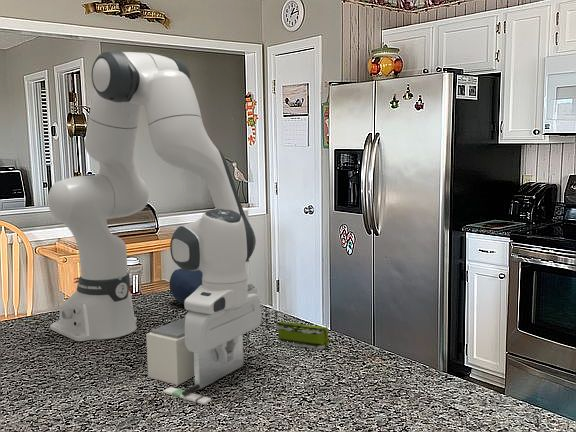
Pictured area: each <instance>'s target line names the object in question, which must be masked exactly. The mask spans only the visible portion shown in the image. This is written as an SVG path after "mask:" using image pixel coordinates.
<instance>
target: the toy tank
mask: <svg viewBox="0 0 576 432" xmlns="http://www.w3.org/2000/svg"><path fill="white" fill-rule="evenodd" d="M275 325H276V327H275V326H269V325H263V324H260V326H259V327H263V328H264V327H265V328H271V329H277V333H278V337H277V342H278V341H279V342H281V343H285V344H290V345H289V346H291V345H295V346H294V347H298V346H301V347H300V348H304V347H307V348H306V349H311V348H313V349H312V350H324V349H326V348H327V346H329V344H330V343H329V330H328V329H329V328H328V326H320V325H311V324H306V323H305V324H304V323H298V322H288V321H276V323H275ZM287 341H288V342H287ZM279 342H278V343H279ZM293 342H294V343H293ZM281 343H280V344H281ZM305 344H306V345H305Z"/></svg>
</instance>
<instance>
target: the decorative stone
mask: <svg viewBox="0 0 576 432" xmlns="http://www.w3.org/2000/svg"><path fill="white" fill-rule="evenodd" d="M202 276H203V273H202V271H201V270H196V271H189V270H183V269H182V268H178V269H175V270H173V272H172V273H171V275H170V279H169V289H170V293H171V294H172V296H173V298H174V299H175V300H176V301H177V302H179V303H181V304H183V305H184V302H185V299H186V298H187V297H189V296H190V295H191V294H192V293H193V292H194V291H195V290H196V289H197V288H198V287H199V286H200V285H202Z"/></svg>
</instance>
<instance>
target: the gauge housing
mask: <svg viewBox="0 0 576 432" xmlns="http://www.w3.org/2000/svg"><path fill="white" fill-rule="evenodd" d="M145 335H146V336H145V337H146V359H147V360H146V362H147V363H146V364H147V377H148V378H151V379H154V380H157V381H161V382H164V383H168V384H172V385H176V386H179V385H181V384H183V383H185V382H186V381H188V379H189V380H191V379H193V378H195V377H194V352H190V351H189V350H188V349H187V348H186V345H185V317H182V318H180V319H177V320H174V321H172V322H170V323H167V324H166V323H165V324H164V325H161V326H158V327H156V328H154V329H151V331H150V332H148V333H146V334H145ZM192 377H193V378H192ZM190 378H191V379H190ZM185 390H186V389H185ZM185 390H184V389H181V388H177V387H172V386H170V387H167V388H165V389H164V390H163V391H162V392H163V393H164V394H167V395H171V396H172V397H176V398H180V399H184V400H187V401H190V402H195V403H197V404H202V405H207V404H208V403H209V402H211V401H212V398H211V397H207V396H205V395H201V394H196V393H193V392H191V393H189V394H188V395H186V396H183V395H182V392H184V391H185Z"/></svg>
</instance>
